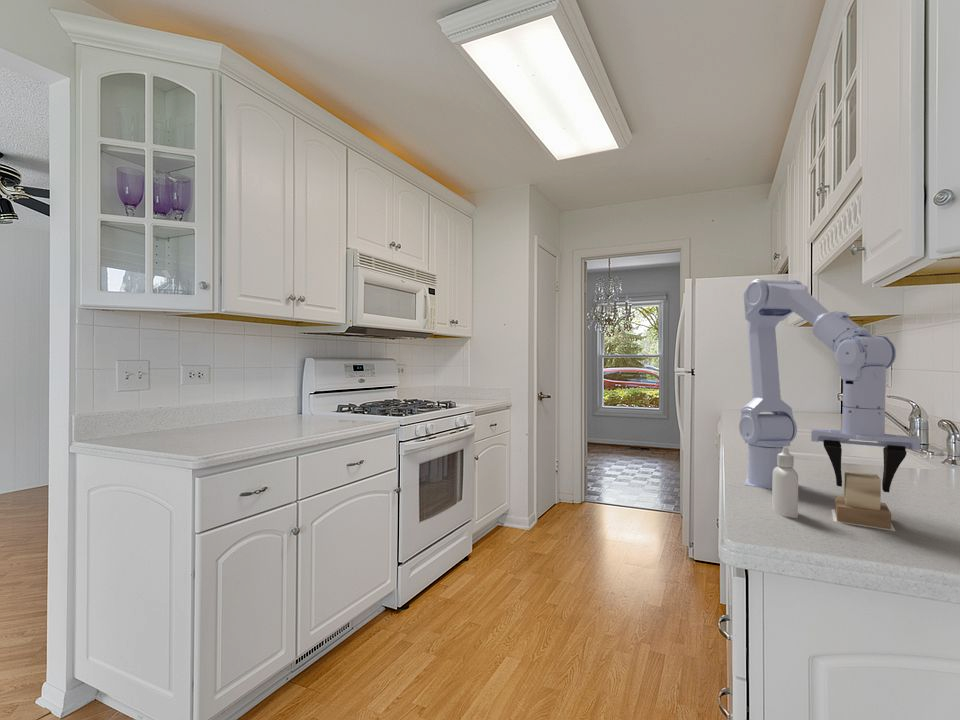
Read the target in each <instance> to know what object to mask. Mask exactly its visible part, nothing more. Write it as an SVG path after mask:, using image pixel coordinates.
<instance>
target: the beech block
mask: <svg viewBox="0 0 960 720" xmlns="http://www.w3.org/2000/svg"><path fill="white" fill-rule="evenodd" d="M843 473H844V474H843V480H844V481H843V497H844V501H845V504H846V506H852V507H859V508H866V509H874V510H880V502H881V499H882V498H881V493H882V491H881V489H882V483H881V482H882V479H881V477H879V475H878V474H877V473H870V472H869V473H867V472H859V471H858V472H857V471H852V470H851V471H850V470H844V471H843Z"/></svg>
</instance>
